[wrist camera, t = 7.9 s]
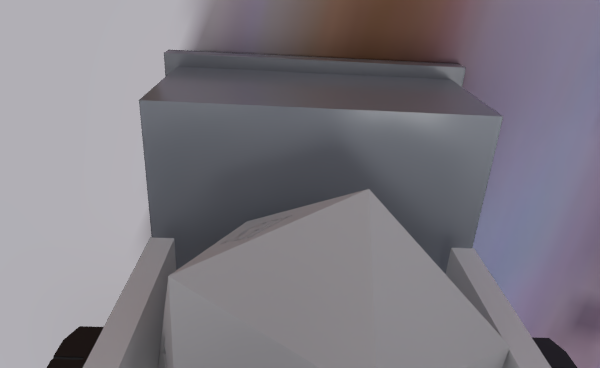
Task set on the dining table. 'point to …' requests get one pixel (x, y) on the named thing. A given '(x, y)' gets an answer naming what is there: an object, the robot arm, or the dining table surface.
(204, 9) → the dining table surface
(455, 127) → the slate block
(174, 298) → the die
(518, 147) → the dining table surface
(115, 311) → the robot arm
